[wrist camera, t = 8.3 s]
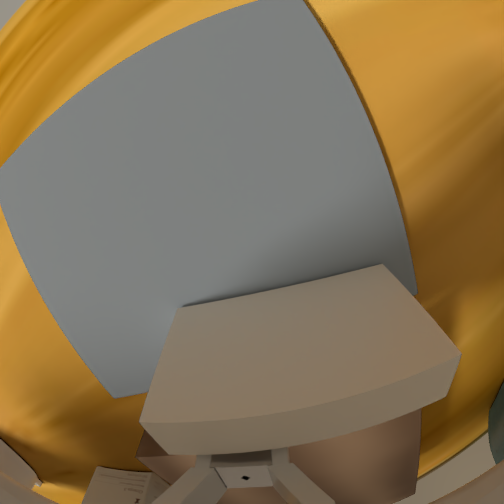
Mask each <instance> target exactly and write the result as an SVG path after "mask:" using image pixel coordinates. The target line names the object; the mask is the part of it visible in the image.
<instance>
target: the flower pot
mask: <svg viewBox="0 0 504 504" xmlns="http://www.w3.org/2000/svg"><path fill="white" fill-rule="evenodd" d="M488 434H489V443H490V448H491V452H492V455H493V458H494V460H495V463H496V465H497V464H498V463H499V462H501V461H502V460H504V382H503V384H502V386H501V389H500V391H499V393H498V395H497V397H496V399H495V401H494V403H493V405H492V407H491V409H490V411H489V421H488Z"/></svg>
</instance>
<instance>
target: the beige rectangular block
mask: <svg viewBox="0 0 504 504" xmlns="http://www.w3.org/2000/svg"><path fill="white" fill-rule="evenodd" d="M461 355H462V353H461V352H460V351H459V350H458V348H457V347H456V346H455V345H454V343H453V342H452V341H451V340H450V338H449V337H448V336H447V335H446V334H445V332H444V331H443V330H442V329H441V328H440V326H439V325H438V324H437V323H436V322H435V320H434V319H433V318H432V317H431V316H430V315H429V314H428V312H427V311H426V310H425V309H424V308H423V307H422V306H421V304H420V303H419V302H418V301H417V300H416V299H415V298H414V297H413V296H412V294H411V293H410V292H409V291H408V290H407V289H406V288H405V287H404V286H403V285H402V284H401V283H400V281H399V280H398V279H397V278H396V277H395V276H394V275H393V274H392V273H391V272H390V271H389V270H388V269H387V268H386V267H385V266H384V265H383V264H379V265H375V266H371V267H367V268H363V269H360V270H356V271H351V272H347V273H343V274H339V275H335V276H331V277H327V278H322V279H318V280H314V281H310V282H305V283H301V284H296V285H292V286H287V287H283V288H278V289H274V290H269V291H264V292H259V293H255V294H250V295H245V296H240V297H235V298H230V299H225V300H220V301H214V302H209V303H204V304H198V305H193V306H187V307H182V308H177V311H176V314H175V316H174V319H173V322H172V325H171V327H170V330H169V333H168V336H167V338H166V341H165V344H164V347H163V350H162V353H161V355H160V358H159V361H158V364H157V367H156V370H155V373H154V376H153V379H152V382H151V385H150V388H149V391H148V394H147V397H146V400H145V404H144V407H143V410H142V413H141V416H140V420H139V423H140V424H141V425H142V427H143V428H144V429H145V430H146V431H147V432H148V433H149V434H150V435H151V437H152V438H153V439H154V440H155V441H156V442H157V443H158V444H159V445H160V446H161V447H162V448H163V449H164V450H165V451H166V452H167V453H168V454H169V455H213V454H232V453H244V452H254V451H263V450H270V449H277V448H284V447H290V446H296V445H301V444H306V443H311V442H316V441H320V440H325V439H329V438H333V437H337V436H341V435H345V434H348V433H352V432H355V431H359V430H362V429H365V428H368V427H372V426H375V425H378V424H381V423H384V422H386V421H389V420H392V419H395V418H397V417H400V416H403V415H405V414H408V413H410V412H413V411H415V410H417V409H420V408H422V407H424V406H427V405H429V404H431V403H433V402H436V401H438V400H440V399H442V398H444V397H446V395H447V393H448V390H449V388H450V385H451V383H452V380H453V378H454V375H455V372H456V369H457V367H458V364H459V361H460V358H461Z"/></svg>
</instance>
